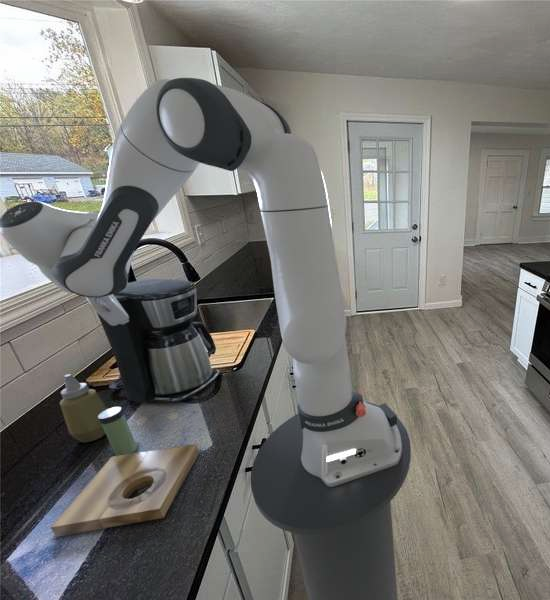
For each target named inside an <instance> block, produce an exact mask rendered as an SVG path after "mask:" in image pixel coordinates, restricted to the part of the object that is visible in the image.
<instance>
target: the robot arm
mask: <svg viewBox="0 0 550 600" xmlns="http://www.w3.org/2000/svg"><path fill="white" fill-rule="evenodd" d="M199 164H203V165H207V166H210V167H215V168H218V169H222V170H225V171H229V172H233V171H235V170H237V169H239V170H241V171H243V172H245V173H246V174H247V175H248V176H249V177H250V179H251V180H252V182H253V184H254V187H255V191H256V195H257V200H258V204H259V205H258V206H259V210H260V215H261V220H262V225H263V229H264V233H265V239H266V244H267V248H268V249H267V250H268V254H269V259H270V266H271V275H272V282H273V284H272V285H273V292H274V299H275V305H276V311H277V318H278V324H279V329H280V337H281V341H282V343H283V347H284V349H285V351H286V352H287V353H288V355H289V356H290V357H291V359H292V360H291V362H292V372H293V374H292V375H293V378H294V383H295V389H296V394H297V400H298V401H297V402H298V404H297V414H298V417H299V422H300V424H301V428H302V429H303V448H302V454H301V461H302V465H303V467H304V468H305V469H306V470H307V471H308V472H309V473H311V474H312V475H315V476H317V477H319V478H321V479H322V480H323V482H324V483H325V484H326V485H327V486H329V487H334V486H337V485H340V484H343V483H346V482H348V481H351V480H354V479H357V478H360V477H363V476H366V475H369V474H372V473H375V472H377V471H380V470H383V469H386V468H389V467H392V466H395V465H397V464H398V462H399V461H400V458H401V455H402V442H401V437H400V433H399V430H398V428H397V426H396V424H397V418H398V415H397V414H396V412H394V410H392V408H390V407H389V405H387V403H386V402H384V403H382V404H378V405H379V406H378V407H376V406H373V405H371V404H368V403H365V402H366V401H364V398H363V394H362V392H361V389H360V387H358V388H357V390H358V391H357V390H354V389H353V384H352V376H351V369H350V359H349V352H348V346H347V345H348V344H347V340H346V334H347V333H346V332H347V318H346V310H345V305H344V298H343V297H344V296H343V290H342V285H341V278H340V273H339V267H338V266H339V265H338V260H337V254H336V248H335V240H334V233H333V226H332V218H331V210H330V203H329V198H328V197H329V196H328V191H327V187H326V182H325V178H324V175H323V171H322V168H321V164H320V161H319V158H318V155H317V152H316V150H315V148H314V146H313V144H311V143H310V141H308V140H307V139H305V138H303V137H301V136H299V135H296V134H292V129H291V127H290V125H289V123H288V121H287V120H286V119H285V117H284V116H283V115H282V114H281V113H280V112H279V111H278V110H277V109H275V108H274V107H272V106H271V105H269V104H267V103H265V102H262V101H258V100H257V99H255V98H253V97H251V96H248V95H247V94H245V93H244V92H242V91H240V90H236V89H234V88H231V87H228V86H224V85H220V84H214V83H212V82H210V81H208V80H205V79H202V78H195V77H177V78H173V79H169V78H163V79H158V80H155V81H154V82H152V83H151V84H150V85H149V86H148V87H147V88H146V89H145V90H144V91H143V92H142V93H141V94H140V95H139V96H138V98H137V99H136V100H135V101H134V103H133V104H132V105H131V107H130V108H129V110H128V111H127V113H126V114H125V116H124V118H123V119H122V122H121V124H120V125H119V128H118V130H117V132H116V135H115V137H114V141H113V144H112V148H111V153H110V158H109V165H108V170H107V178H106V184H105V191H104V196H103V201H102V205H101V209H100V211H99V210H98V211H97V210H96V211H88V212H86V211H85V212H83V211H75V210H74V211H73V210H67V209H61V208H59V207H55V206H52V205H50V204H47V203H45V202H42V201H27V202H25V201H24V202H21V203H19V204H16V205H13V206H12V207H10V208H9V209H7V210H6V211H5V212H4V213H3V214H2V215H1V216H0V235H1V236H2V238H3V239H4V240H5V241H6V242H7V243H8V244H9V245H10V246H11V247H12V248H13V249H14V250H15V251H16V252H17V253H18V254H19V255H20V256H22V258H24V259H25V260H26V261H27V262H29V263H30V264H33V265H35V266H37V268H38V269H39V271H40V272H41V273H42V275H44V276H45V278H47V279H48V280H49V281H50V282H51V283H53V284H54V286H56V287H57V288H58V289H59V290H61V291H62V292H65V293H68V294H75V295H78V296H80V297H84V298H85V299H86V300H87V302H88V303H89V305H90V307H92V309H93V310H94V311H95V312H96V314H97V313H98V314H99V315H100V316H101V317H102V318H103V319H104V320H106V321H107V322H108V323H109V324H110V325H112V326H116V325H118V324H122V325H123V324H125V323H127V322H129V316H128V314H127V313H126V311H125V310H124V309H123V307H122V306H121V304H120V303H119V302H118V300H117V299H116V297H115V296H114V295H113V294H115V293H118V292H120V291H122V290H124V289H125V288H126V286H127V283H128V280H129V273H130V270H131V269H130V268H131V266H132V261H133V258H134V254H135V251H136V249H137V247H138V245H139V244H140V242H141V241H142V239H143V237H144V235H145V234H146V232H147V231H148V229H149V227H150V226H151V224H152V223H153V222H154V221H155V219H156V218H157V217H158V216H159V215H160V213H162V211H163V209H164V208H165V207H166V206H167V205H168V204H169V202H170V201H171V200H172V199H173V198H174V196H175V195H176V194H177V193H178V192H180V190H181V189H182V188H183V186H184V185H185V183H186V182H187V181H188V180H189V179H190V178H191V176H192V175H193V173H194V172H195V171H196V169H197V168H198V166H199ZM98 314H97V315H98ZM363 401H364V402H363ZM396 452H398V453H396ZM337 478H338V479H337Z"/></svg>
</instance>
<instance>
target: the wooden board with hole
mask: <svg viewBox="0 0 550 600" xmlns="http://www.w3.org/2000/svg"><path fill="white" fill-rule="evenodd" d="M199 454H200V448H199V446H198V444H197V443H194V444H189V445H181V446H175V447H174V446H173V447H167V448H162V449H154V450H147V451H146V450H145V451H140V452H133V453H132V454H126V455H119V456H116V455H114V456H111V457H110V458H109V459H108V461H106V463H105V464H104V465H103V466H102V468H100V470H99V471H98V472H97V473H96V474H95V475H94V476H93V478H92V479H91V480H90V481H89V482H88V483H87V484H86V486H85V487H84V488H83V489H82V490H81V492H79V494H78V495H77V496H76V498H74V499H73V501H72V502H71V503H70V504H69V505H68V507H67V508H66V509H65V510H64V511H63V513H62V514H61V515H60V516H59V517H58V518H57V519H56V521H55V522H54V523H53V524H52V525H51V526H50V529H51V530H52V533H53V535H54V536H55V537H62V536H63V537H64V536H69V535H74V534H81V533H85V532H92V531H97V530H102V529H108V528H114V527H119V526H125V525H131V524H136V523H142V522H147V521H153V520H154V521H155V520H159V519H164V518H165V516H166V514H167V512H168V510H169V509H170V507H171V505H172V503H173V502H174V500H175V498H176V496H177V494H178V492H179V491H180V489H181V487H182V485H183V483H184V482H185V480H186V478H187V476H188V474H189V472H190V471H191V469H192V467H193V465H194V463H195V462H196V460H197V458H198V456H199ZM146 486H150V487H149V488H147V489H146V490H145V491H144V492H142V493H141V494H139V495H137V496H135V497H132V498H130V497H131V496H132V495H133V494H134V493H135V492H136V491H138V490H140V489H141V488H143V487H146Z"/></svg>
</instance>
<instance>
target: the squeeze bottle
mask: <svg viewBox="0 0 550 600" xmlns="http://www.w3.org/2000/svg"><path fill="white" fill-rule="evenodd" d="M64 385H65V388H63V389H62V390H61V391H60V395H61V397H62V399H61V400H60V402H59V406H60V410H61V412H62V415H63V419H64V422H65V425H66V428H67V432H68V435H69V436H70V435H71V437H73V438H74V439H76V440H78V441H79V442H80V443H90V442H93V441H96V440H98V439H100V438H102V437H104V436H105V435H106V433H105V431H104V429H103V427H102V424H101V423H100V422H99V419H98V415H99V414H100V413H102V412H103V411H105V410H107V409H108V408H107V406H106V405H105V404H104V402H103V400H102V398H101V397H100V396H99V394H98V393H97V391H96V390H95V389H93V388H89V386H88V384H87V383H86V382H79V381H78V379H76V378H75V377H74V376H73V374H71V373H69V374H65V375H64Z"/></svg>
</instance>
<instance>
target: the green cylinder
mask: <svg viewBox="0 0 550 600" xmlns="http://www.w3.org/2000/svg"><path fill="white" fill-rule="evenodd" d="M124 413H125V412H124V411H123V408H122V406H112V407H110V408H107V410H105V411H103V412H102V413H100V414H99V415H98V419H99V422H100V423H101V424H102V427H103V429H104V431H105V433H106V434H105V435H106V437H107V440H108V441H109V444H110V446H111V448H112V451H113V452H114V456H119V455H126V454H133V453H135V451H136V450H137V449H138V444H137V442H136V439H135V438H134V435H133V433H132V431H131V427H130V425H129V423H128V421H127V419H126V417H125V414H124Z"/></svg>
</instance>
